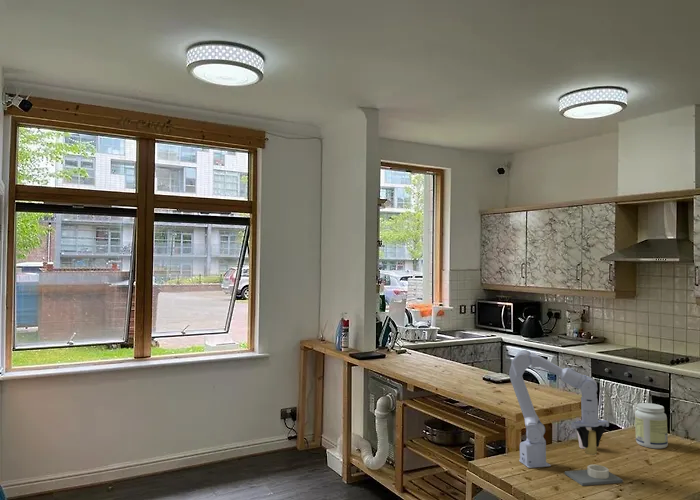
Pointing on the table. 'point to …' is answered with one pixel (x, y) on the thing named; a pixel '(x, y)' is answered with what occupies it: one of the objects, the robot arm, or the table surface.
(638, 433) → the supplement tub
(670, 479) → the table surface
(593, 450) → the peg
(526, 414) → the robot arm
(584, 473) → the holder
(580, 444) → the smoothie
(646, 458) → the table surface
